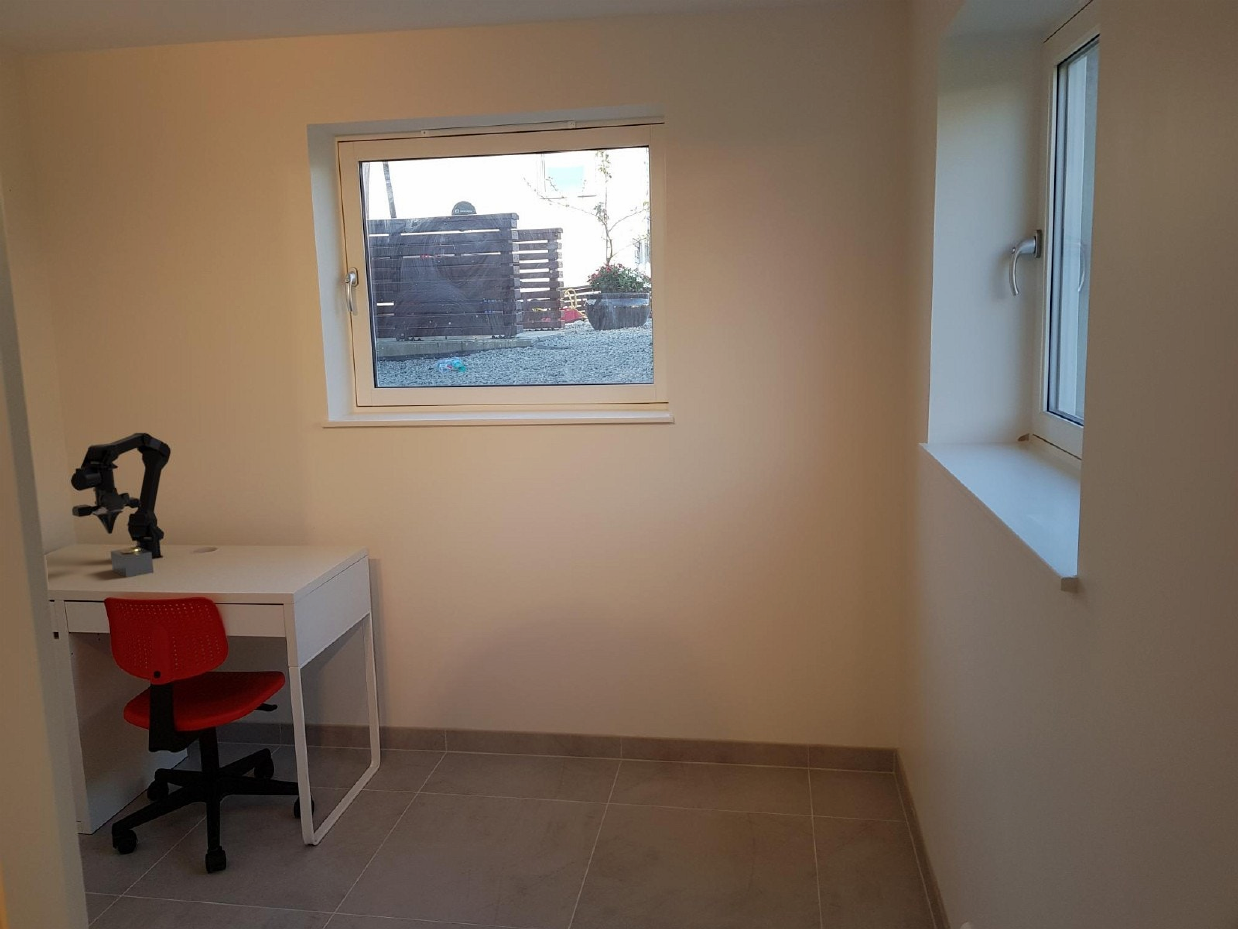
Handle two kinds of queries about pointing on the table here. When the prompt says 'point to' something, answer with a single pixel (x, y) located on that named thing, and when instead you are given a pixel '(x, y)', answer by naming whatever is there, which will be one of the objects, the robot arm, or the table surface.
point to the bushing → (130, 550)
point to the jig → (132, 563)
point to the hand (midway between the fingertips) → (110, 533)
